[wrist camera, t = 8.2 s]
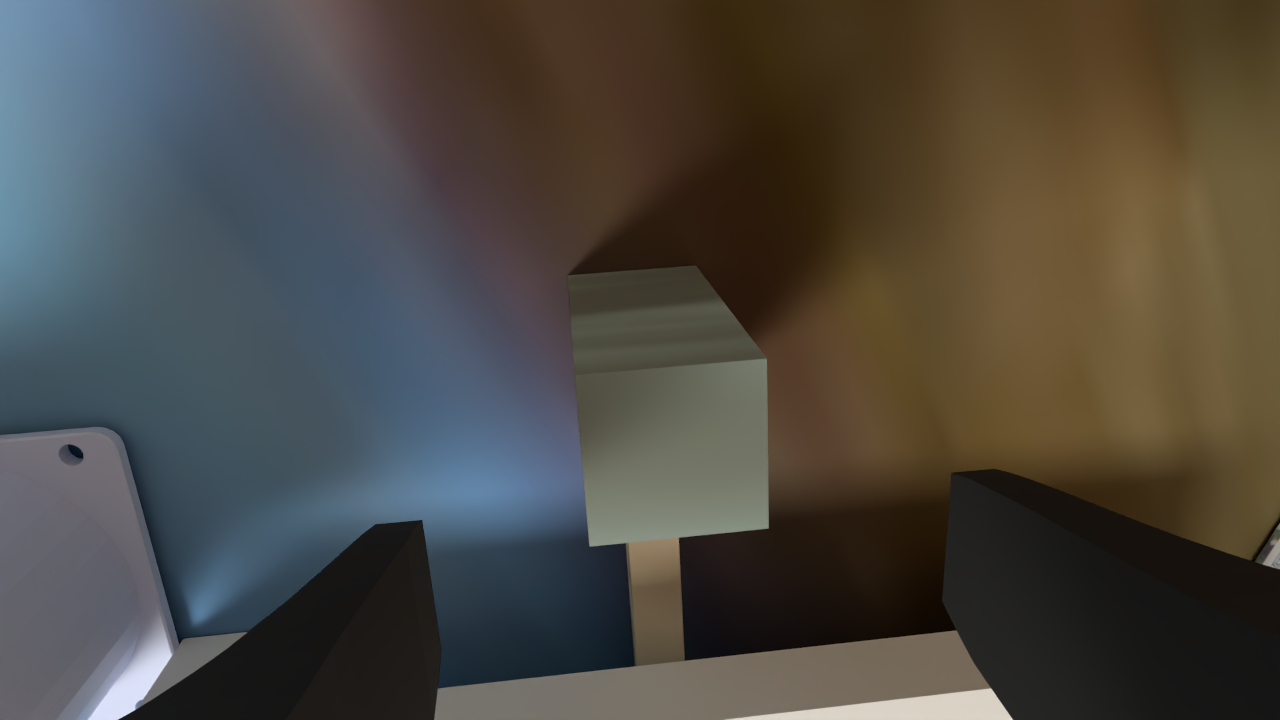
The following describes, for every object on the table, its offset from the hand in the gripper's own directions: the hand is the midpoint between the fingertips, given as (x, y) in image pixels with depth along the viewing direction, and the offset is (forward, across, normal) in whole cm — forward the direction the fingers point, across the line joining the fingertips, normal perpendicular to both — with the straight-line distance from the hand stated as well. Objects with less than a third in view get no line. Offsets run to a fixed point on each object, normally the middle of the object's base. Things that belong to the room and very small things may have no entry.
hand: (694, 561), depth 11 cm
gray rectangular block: (+9, 0, +9) cm, 13 cm away
